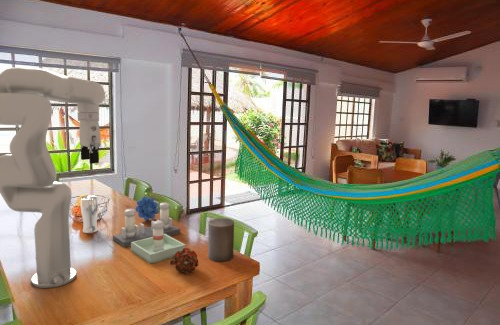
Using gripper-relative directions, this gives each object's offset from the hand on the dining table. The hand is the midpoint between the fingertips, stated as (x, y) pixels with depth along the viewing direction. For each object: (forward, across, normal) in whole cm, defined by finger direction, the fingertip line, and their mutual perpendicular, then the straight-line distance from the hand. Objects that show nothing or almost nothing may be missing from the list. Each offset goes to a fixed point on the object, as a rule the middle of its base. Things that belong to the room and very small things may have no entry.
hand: (89, 161), depth 142 cm
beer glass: (+33, +13, -4) cm, 36 cm away
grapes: (+33, +10, -30) cm, 46 cm away
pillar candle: (+33, -43, -32) cm, 63 cm away
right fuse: (+31, -8, -28) cm, 43 cm away
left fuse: (+31, -8, -12) cm, 34 cm away
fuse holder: (+33, -8, -20) cm, 39 cm away
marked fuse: (+32, -25, -16) cm, 44 cm away
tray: (+33, -25, -16) cm, 44 cm away
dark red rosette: (+33, -44, -15) cm, 57 cm away
